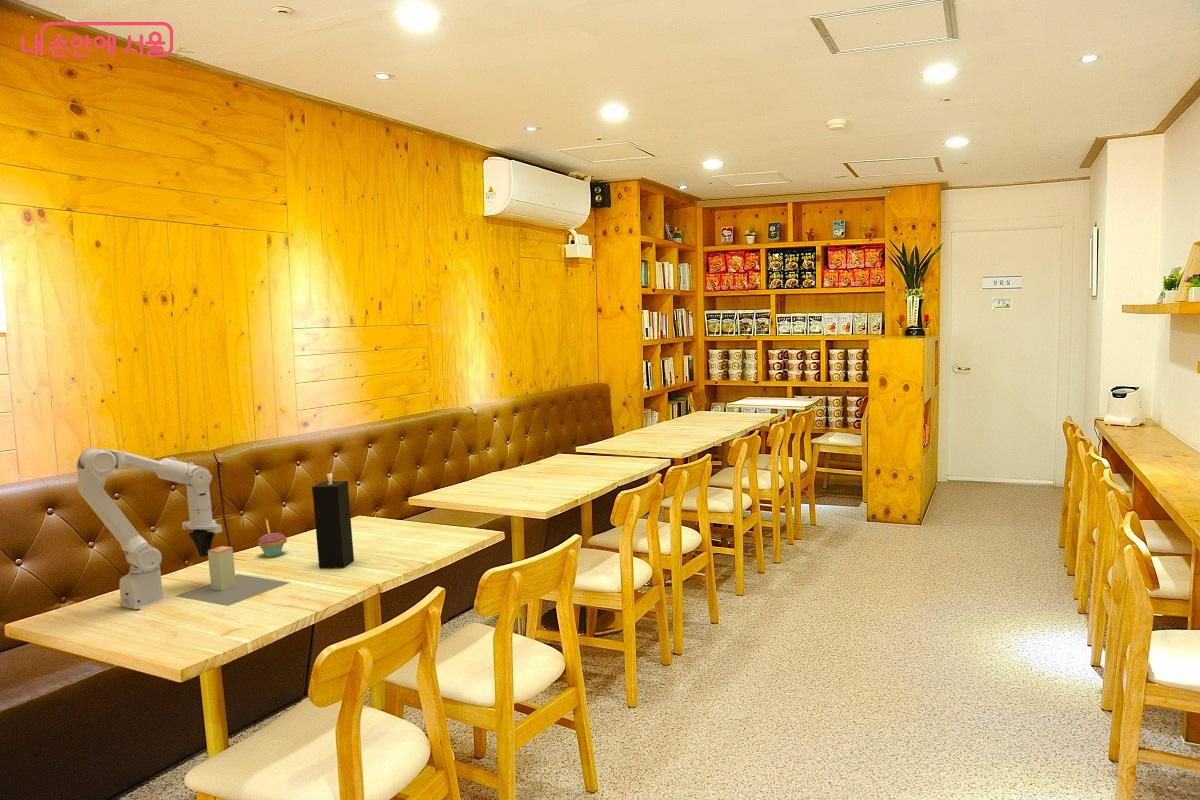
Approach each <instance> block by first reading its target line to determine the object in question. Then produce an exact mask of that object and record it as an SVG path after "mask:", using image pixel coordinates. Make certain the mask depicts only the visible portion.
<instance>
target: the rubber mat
mask: <svg viewBox="0 0 1200 800" xmlns="http://www.w3.org/2000/svg"><path fill="white" fill-rule="evenodd" d="M235 578H236V586H235V587H232V588H229V589H226V590H223V591H220V590H214V589H211V583H208V584H206V585H202V586H199V587H197V588H194V589H190V590H188V591H184V592H181V593H179V594H177V595H175V597H178V598H183V599H189V600H194V601H199V602H200V601H201V602H205V603H210V604H216V605H221V606H226V607H229V606H232V605H234V604H237V603H239V602H242V601H245V600H247V599H251V598H253V597H256V596H259V595H261V594H263V593H267V592H269V591H272V590H275V589H278V588H280V587H282V586H285V585H288V584H291V582H290V581H284V580H277V579H270V578H264V577H258V576H251V575H244V574H239V573H237V574H235Z"/></svg>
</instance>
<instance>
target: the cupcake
mask: <svg viewBox="0 0 1200 800" xmlns="http://www.w3.org/2000/svg"><path fill="white" fill-rule="evenodd" d="M265 525H266V529H267V530H266V531H267V533H266V534H263V535H262V536H260V537H259V539H258V540H257V545H258V546H257V547H259V548H260V549H261V551H262V552H263V554H264V557H266V558H273V556H275V557H277V555H278V556H280V555H282V551H283V547H284V545H285V544H286V543H287V541H288V539H287V536H285V534H282V533H281V532H271V531H270V526H269V521H268V519H267V518H265Z"/></svg>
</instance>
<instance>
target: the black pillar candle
mask: <svg viewBox="0 0 1200 800" xmlns="http://www.w3.org/2000/svg"><path fill="white" fill-rule="evenodd" d="M326 476H327V481H322V482H320V483H318V484H316V485H313V486H312V487H311V492H312V500H313V512H314V523H315V534H316V536H315V537H316V546H317V559H318V568H319V569H323V568H324V569H344V568H346V567H347V566H348V565H349V564H351V563H352V562H354V561H355V555H354V554H355V553H354V544H353V543H354V542H353V532H352V530H353V529H352V521H351V520H352V518H351V508H350V507H351V506H350V505H351V504H350V495H349V480H336V481H333V473H332V472H330V473H326Z"/></svg>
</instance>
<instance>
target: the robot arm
mask: <svg viewBox="0 0 1200 800" xmlns="http://www.w3.org/2000/svg"><path fill="white" fill-rule="evenodd" d="M75 467H76V471H77V489H78V493H79V494H80V496H81V497H82V498H83V499H84V500H85V501H86V503H87V504H88V505H89V507H90V508H91V509H92V511H93V512H94V513H95V514H96V516H97V517H98V518H99V519H100V520H101V522H102V523H103V524H104V526H105V527H106V528H107V529H108V530H109V532H110V533H111V534H112V535H113V537H114V538H115V539H116V540H117V542H118V543H119V545H120V548H121V549H122V550H123V552H124V555H125V560H126V562H127V564H129V565H130V568H129V570H128V571H129V572H128V573H127V574H126V575H123V576H122V577H121V578H120V579H119V583H118V584H119V594H120V604H119V607H121V606H122V607H121V608H126V607H127V609H130V608H132V610H135V609H136V611H138V610H137V609H139V610H141V609H142V608H143V607H146V606H150V605H153V604H155V603H159V602H161V601H164V600H167V599H170V598H171V596H167V595H164V592H163V585H162V584H163V583H162V575H161V573H162V571H161V563H162V560H163V557H162V552H161V551H160V550H159V549H158V548H156V547H153V546H152V545H150V544H149V543H148V541H146V539H145V538H144V537H143V536H141V535H140V534H139V532H138V531H137V530H136V528H135V527H134V526H133V525H132V523H131V521H129V520H128V518H127V517H126V515H125V514H124V513H123V512H122V511H121V509H120V508H119V506H118V505H117V503H115V502H114V500H113V499H112V498H111V497H110V495H109V494H108V493H107V491H106V490H105V489H104V488H105V485H106V481H107V479H108V477H109V476H110V474H111V473H112V472H113V471H114V470H115V469H117V470H119V469H122V468H125V467H131V468H135V469H141V470H145V471H148V472H152V473H153V472H154V473H155V474H156V476H157V478H158V479H161V480H166V481H169V482H174V483H177V484H185V485H186V492H187V493H186V497H187V507H188V515H189V521H184V522H181V526H182V530H185V531H186V530H191V531H192V530H193V531H192V532H189V533H188V537H189V538H190V539H191V540H192V542H193V543H194V546H195V547H196V550H197V552H198V555H199V557H201V558H204V557H208V550H210V549H212V544H213V540H214V538H215V535H216V534H218V533H221V532H223V526H222V524H219V523H217V521H216V520H214V519H213V510H212V501H211V492H210V483H212V479H213V475H212V474H211V472H210V471H209V469H208V468H206V467H204V466H201V465H196V464H194V462H192V461H191V462H190V461H189V462H184V461H180V460H177V457H173V456H170V457H164V458H162V459H160V460H157V459H152V458H150V457H145V456H143V455H142V456H141V455H138V454H134V453H131V452H127V451H123V450H115V449H110V448H109V449H107V448H103V449H101V448H99V447H96V446H95V447H93V446H92V447H87V448H85V449H84V450H83V451H82V452H81V453H80V454H79V456H78V458H77V461H76V464H75ZM140 608H141V609H140Z"/></svg>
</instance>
